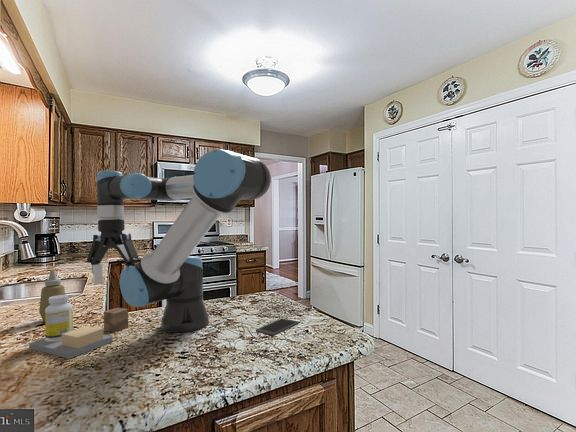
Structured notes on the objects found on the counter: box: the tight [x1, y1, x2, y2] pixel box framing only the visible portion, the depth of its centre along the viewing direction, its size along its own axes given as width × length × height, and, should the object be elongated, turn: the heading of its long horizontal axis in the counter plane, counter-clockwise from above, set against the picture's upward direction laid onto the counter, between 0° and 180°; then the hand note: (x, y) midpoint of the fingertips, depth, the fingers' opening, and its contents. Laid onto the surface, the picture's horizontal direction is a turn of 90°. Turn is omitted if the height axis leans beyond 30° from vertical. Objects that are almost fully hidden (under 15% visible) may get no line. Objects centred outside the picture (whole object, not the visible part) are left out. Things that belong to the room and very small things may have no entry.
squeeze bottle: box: [38, 269, 66, 323], centre depth 112 cm, size 8×8×18 cm
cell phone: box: [255, 318, 300, 337], centre depth 100 cm, size 7×14×1 cm, turn 143°
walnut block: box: [103, 307, 129, 333], centre depth 102 cm, size 5×5×6 cm
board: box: [28, 325, 114, 360], centre depth 89 cm, size 18×12×4 cm, turn 66°
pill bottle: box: [44, 294, 74, 340], centre depth 91 cm, size 6×6×12 cm
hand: (113, 284), depth 101 cm, fingers open, 13 cm apart
